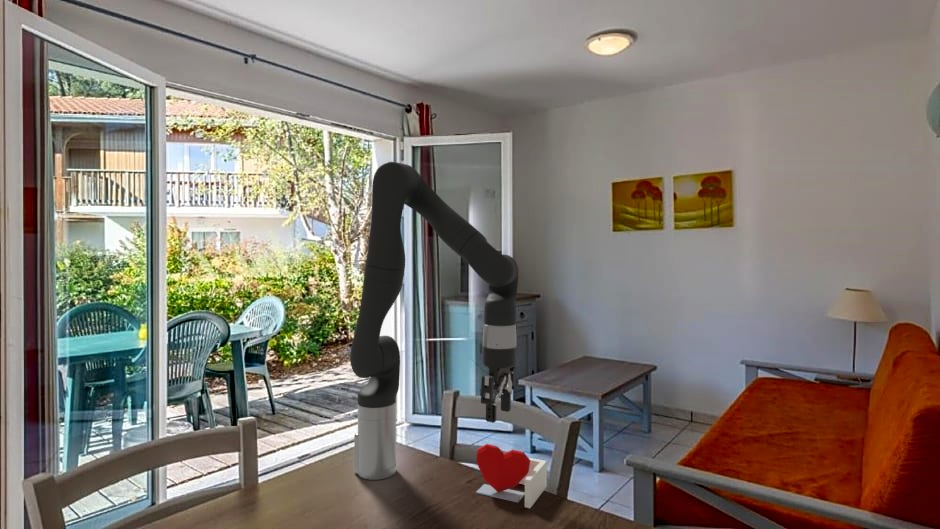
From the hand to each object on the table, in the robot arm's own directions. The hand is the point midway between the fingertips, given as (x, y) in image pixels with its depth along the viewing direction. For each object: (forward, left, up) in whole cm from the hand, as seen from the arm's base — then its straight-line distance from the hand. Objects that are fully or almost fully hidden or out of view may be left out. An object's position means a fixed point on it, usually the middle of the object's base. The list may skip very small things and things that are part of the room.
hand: (498, 416), depth 117 cm
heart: (0, 0, -17) cm, 17 cm away
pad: (+1, 0, -17) cm, 17 cm away
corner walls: (+3, +2, -17) cm, 18 cm away
